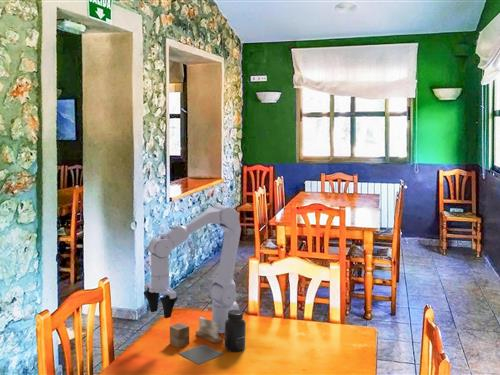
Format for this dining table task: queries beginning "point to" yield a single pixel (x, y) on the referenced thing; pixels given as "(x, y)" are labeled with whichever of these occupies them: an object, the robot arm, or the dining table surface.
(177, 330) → the walnut block
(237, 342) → the supplement bottle
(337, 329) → the dining table surface
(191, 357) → the coaster
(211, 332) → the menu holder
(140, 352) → the dining table surface
